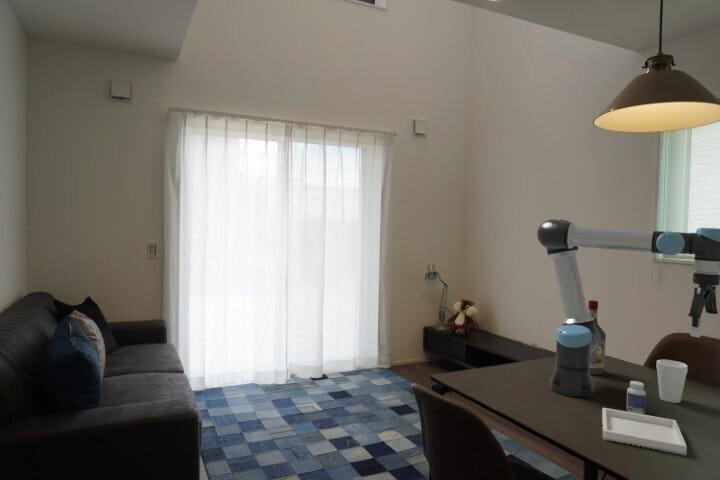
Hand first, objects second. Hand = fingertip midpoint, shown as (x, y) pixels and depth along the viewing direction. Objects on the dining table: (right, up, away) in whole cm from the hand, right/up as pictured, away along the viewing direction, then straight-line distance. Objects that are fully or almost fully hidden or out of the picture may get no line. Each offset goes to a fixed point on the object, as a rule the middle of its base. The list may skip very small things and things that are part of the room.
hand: (701, 334), depth 166 cm
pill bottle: (-27, -25, -6) cm, 37 cm away
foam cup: (-7, -25, +6) cm, 26 cm away
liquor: (-21, -23, +37) cm, 49 cm away
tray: (-35, -25, -24) cm, 49 cm away
